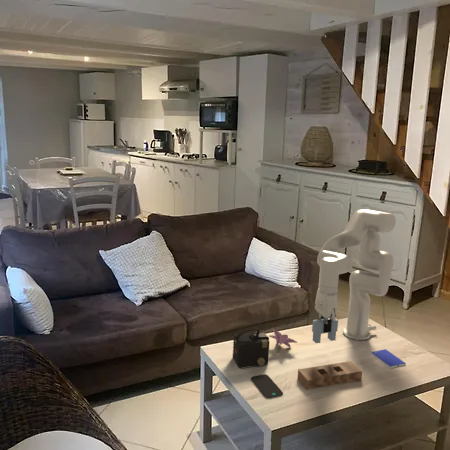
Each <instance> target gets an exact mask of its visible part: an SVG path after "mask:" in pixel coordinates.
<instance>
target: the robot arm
mask: <svg viewBox="0 0 450 450" xmlns="http://www.w3.org/2000/svg"><path fill="white" fill-rule="evenodd" d="M396 221H397V220H396V216H395V215H394V214H393V213H391V212H385V211H378V210H373V209H358V210H356V211H355V212H354V213H353V214H352V216H351V217H350V220H349V221H348V223H347V224H346V226H345V228H344V230H343V231H342V232H340V233H338V234H336V235H334V236H332V237H330V238H329V239H327V240H326V241H325V242H324V244H323V246H322V247H321V248H320V250H319V252H318V255H317V258H316V261H317V262H316V263H317V265H318V267H319V274H318V275H319V276H318V277H319V278H318V288H317V290H316V296H315V303H314V310H315V311H316V312H317V313H318V319H324V318H325V323H324V331H323V332H324V333H323V334H328V333H327V332H331V325H332V323H333V322H336V319H337V318H336V317H337V316H338V315H337V314H338V292H339V291H338V289H339V288H338V287H339V280H340V279H339V278H340V277H339V276H340V275H342V274H346V273H348V272H350V271H351V270H352V269H353V266H354V260H353V258H352V256H350V255H348V254H345V253H339V252H335V251H337V250H340V249H345V248H350V247H351V248H352V247H355V246H356V247H357V246H358V245H359V248H358V253H357V257H356V258H357V259H356V260H357V261H356V263H357V265H358V266H359V267H360V268H364V269H366V270H372V271H376V272H378V273H374V272H371V271H366V270H361V269H358V270H354V271H352V272H351V273H350V275H349V279H348V280H349V281H348V283H349V302H348V311H347V313H348V314H347V321H346V323H347V324H346V327H344V328H343V329H342V334H343V335H344V336H345V337H346V338H348V339H351V340H356V341H365V340H369V339H370V338H371V331H375V330H377V326H376V325H371V324H369V319H370V311H371V301H372V300H371V298H370V295H373V296H377V297H384V296H386V294H387V293H388V291H389V286H390V283H391V282H390V281H391V277H392V272H393V271H392V270H393V269H394V268H393V266H394V257H393V254H391V252H388V251H386V250H385V251H384V250H381V249H379V248H380V246H381V245H380V244H381V236H380V234H379V233H385V234H386V233H390V232H391V231H393V230H394V228H395V226H396ZM328 318H330V319H329V320H328Z"/></svg>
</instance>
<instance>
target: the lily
mask: <svg viewBox="0 0 450 450" xmlns="http://www.w3.org/2000/svg"><path fill="white" fill-rule="evenodd" d="M272 331H273V333H274V335H273V334H271V335H268V337H269V338H272V339H274V340H275V342H276V344H279V346H278V350H277V354H279V352H280V347H281V345H285V346H286V347H288V348H290V349H291V344H290V343H294V344H295V343H296V344H297V343H299V342H298V341H296V340H295V339H293V338H290V337H288V334H282V333H281V332H279V331H278V330H277V329H274V328H273V329H272Z"/></svg>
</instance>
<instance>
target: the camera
mask: <svg viewBox="0 0 450 450" xmlns="http://www.w3.org/2000/svg"><path fill="white" fill-rule="evenodd" d="M251 331H252V332H251ZM232 339H233V346H232V359H233V360H234V362H235V364H236V365H237V367H238V369H242V368H251V367H258V366H265V365H268V364H269V357H270V355H269V354H270V337H269V335H267V334H266V332H265V331H260V330H259V329H258V328H257V327H255V326H251V327H247V328H244V329H243V330H241V331H240V332H239V333H234V334H233V338H232Z"/></svg>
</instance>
